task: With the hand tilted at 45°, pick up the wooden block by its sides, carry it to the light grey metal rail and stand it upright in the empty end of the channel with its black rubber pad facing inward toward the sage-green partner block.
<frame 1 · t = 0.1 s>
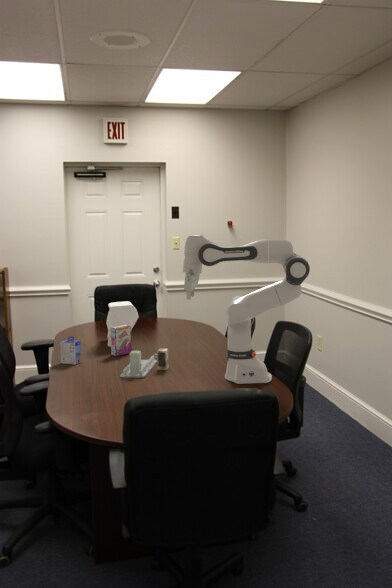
hand: (190, 297, 234), 39 cm above the table, tool pointing down, fingers open, 8 cm apart
rail: (139, 369, 254), on the table
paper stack: (122, 343, 310), on the table
candy bar box: (121, 354, 284), on the table
wooden block: (163, 368, 254), on the table
ink cartridge box: (71, 363, 268), on the table
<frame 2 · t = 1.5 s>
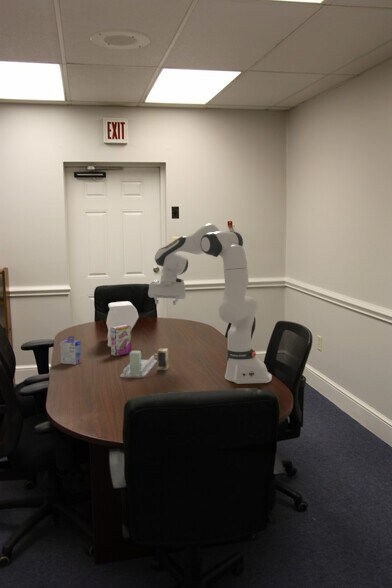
hand: (165, 303, 261), 32 cm above the table, tool tilted 45°, fingers open, 8 cm apart
nothing on the table moved.
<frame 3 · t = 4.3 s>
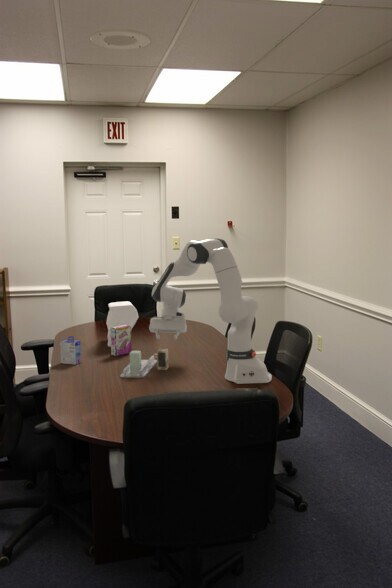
hand: (166, 338, 261), 14 cm above the table, tool tilted 45°, fingers open, 8 cm apart
nothing on the table moved.
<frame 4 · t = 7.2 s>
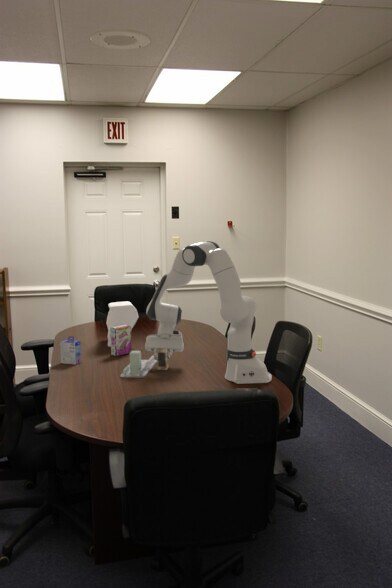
hand: (162, 357, 252), 6 cm above the table, tool tilted 45°, fingers closed on wooden block, 4 cm apart
wooden block: (163, 368, 254), on the table, touching gripper
everything else where it was.
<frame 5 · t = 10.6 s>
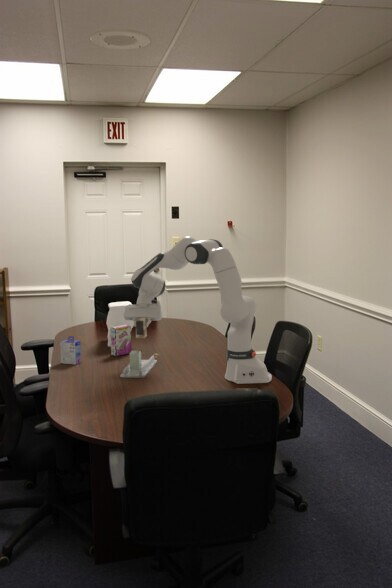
hand: (140, 326, 256), 21 cm above the table, tool tilted 45°, fingers closed on wooden block, 4 cm apart
wooden block: (141, 337, 257), point 16 cm above the table, touching gripper
everything else where it was.
when the fingers open (8 cm above the table, at t = 14.0 s): wooden block drops 1 cm, resting on rail.
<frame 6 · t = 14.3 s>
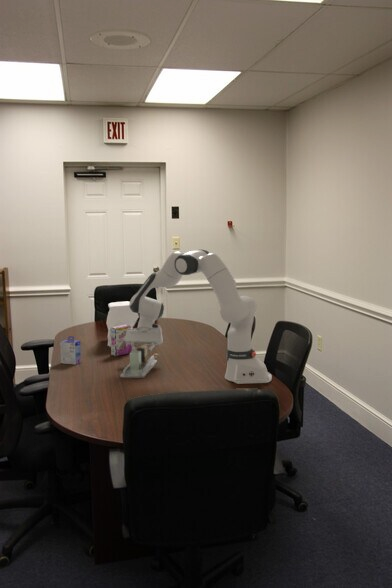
hand: (141, 350, 258), 8 cm above the table, tool tilted 45°, fingers open, 8 cm apart
wooden block: (142, 363, 259), point 1 cm above the table, touching rail
everything else where it was.
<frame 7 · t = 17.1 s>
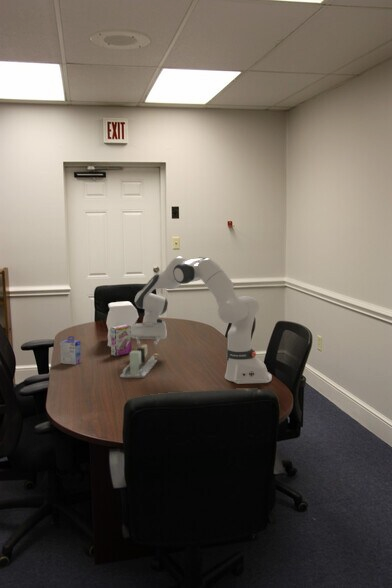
hand: (146, 344, 269), 9 cm above the table, tool tilted 45°, fingers open, 8 cm apart
nothing on the table moved.
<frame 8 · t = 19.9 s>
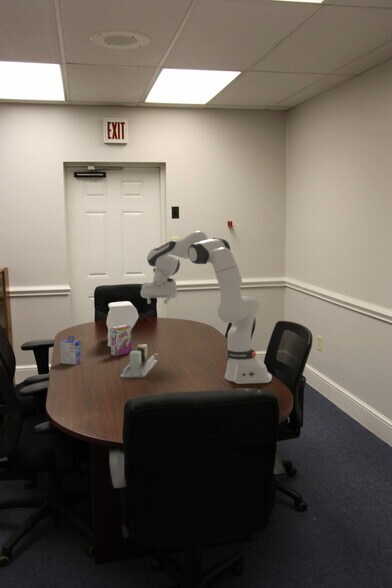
hand: (157, 303, 267), 31 cm above the table, tool tilted 45°, fingers open, 8 cm apart
nothing on the table moved.
at the end: wooden block 0.1 cm from the target spot on the rail, point 1.0 cm above the rail's base; wooden block tilted 0°; the gripper is holding nothing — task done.
